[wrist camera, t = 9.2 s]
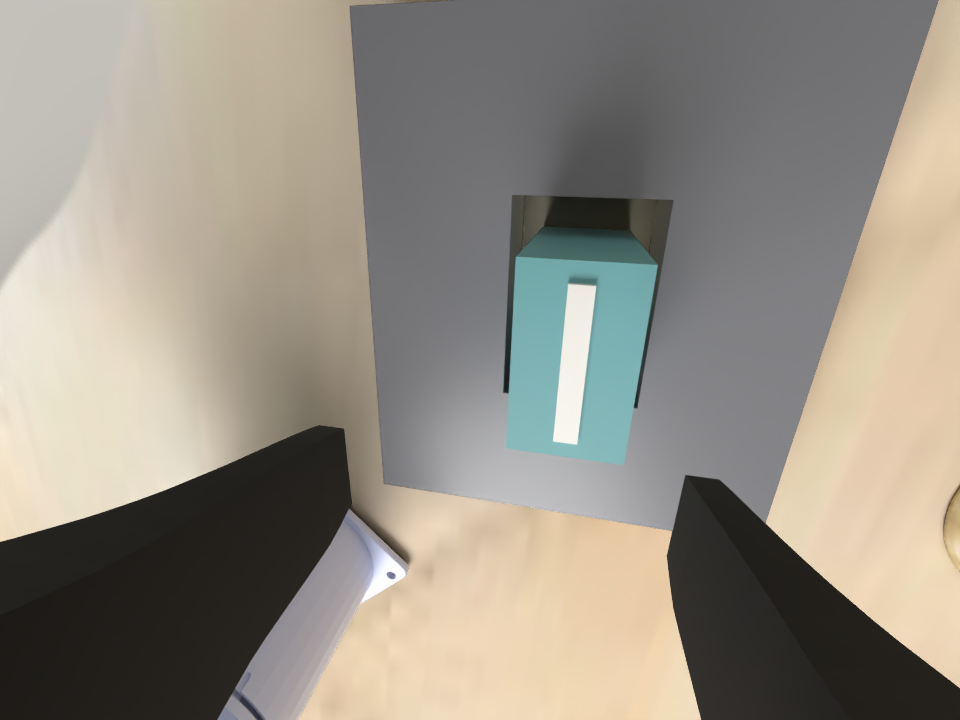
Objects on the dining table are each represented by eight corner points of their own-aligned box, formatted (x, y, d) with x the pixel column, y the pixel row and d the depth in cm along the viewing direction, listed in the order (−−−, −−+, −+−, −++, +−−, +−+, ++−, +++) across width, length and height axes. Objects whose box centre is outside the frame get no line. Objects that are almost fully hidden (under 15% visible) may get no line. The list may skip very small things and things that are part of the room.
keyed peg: (610, 362, 18) (624, 468, 11) (534, 354, 18) (504, 451, 12) (629, 230, 16) (659, 265, 9) (543, 226, 16) (514, 257, 10)
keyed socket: (732, 491, 18) (758, 545, 16) (409, 444, 21) (384, 483, 18) (868, 18, 12) (947, -27, 10) (392, 36, 15) (349, 6, 12)
